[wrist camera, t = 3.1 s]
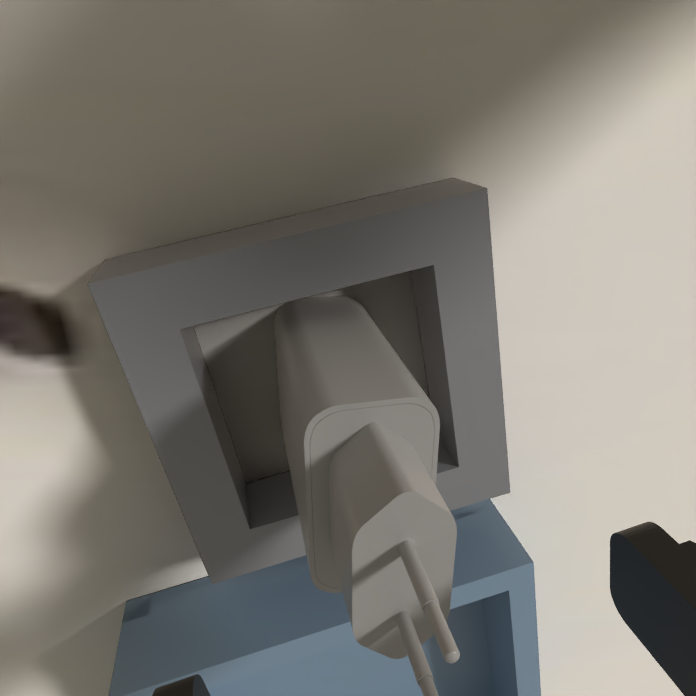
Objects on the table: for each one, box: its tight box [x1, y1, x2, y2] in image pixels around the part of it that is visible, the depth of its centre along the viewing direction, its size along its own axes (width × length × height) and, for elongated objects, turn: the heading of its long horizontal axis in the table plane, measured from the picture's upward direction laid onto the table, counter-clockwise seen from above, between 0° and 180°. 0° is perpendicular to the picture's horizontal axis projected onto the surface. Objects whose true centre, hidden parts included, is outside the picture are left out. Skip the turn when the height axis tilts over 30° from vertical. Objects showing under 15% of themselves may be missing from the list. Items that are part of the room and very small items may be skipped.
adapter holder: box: [87, 178, 510, 584], centre depth 18 cm, size 11×11×2 cm
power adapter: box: [274, 296, 460, 696], centre depth 14 cm, size 3×5×12 cm, turn 0°
